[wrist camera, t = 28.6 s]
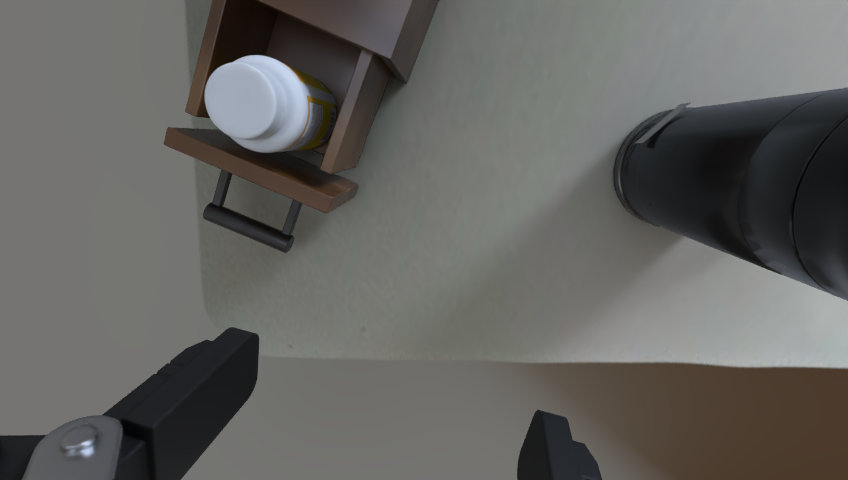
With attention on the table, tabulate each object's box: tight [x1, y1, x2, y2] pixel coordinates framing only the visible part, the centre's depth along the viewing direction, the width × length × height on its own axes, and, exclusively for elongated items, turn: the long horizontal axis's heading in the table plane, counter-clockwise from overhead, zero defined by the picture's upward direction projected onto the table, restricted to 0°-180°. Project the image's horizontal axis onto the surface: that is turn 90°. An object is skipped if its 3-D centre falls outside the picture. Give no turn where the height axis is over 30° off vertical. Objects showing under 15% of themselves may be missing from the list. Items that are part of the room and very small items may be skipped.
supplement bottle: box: [204, 55, 338, 153], centre depth 26 cm, size 6×6×10 cm
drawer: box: [164, 0, 391, 253], centre depth 28 cm, size 18×11×8 cm, turn 157°
